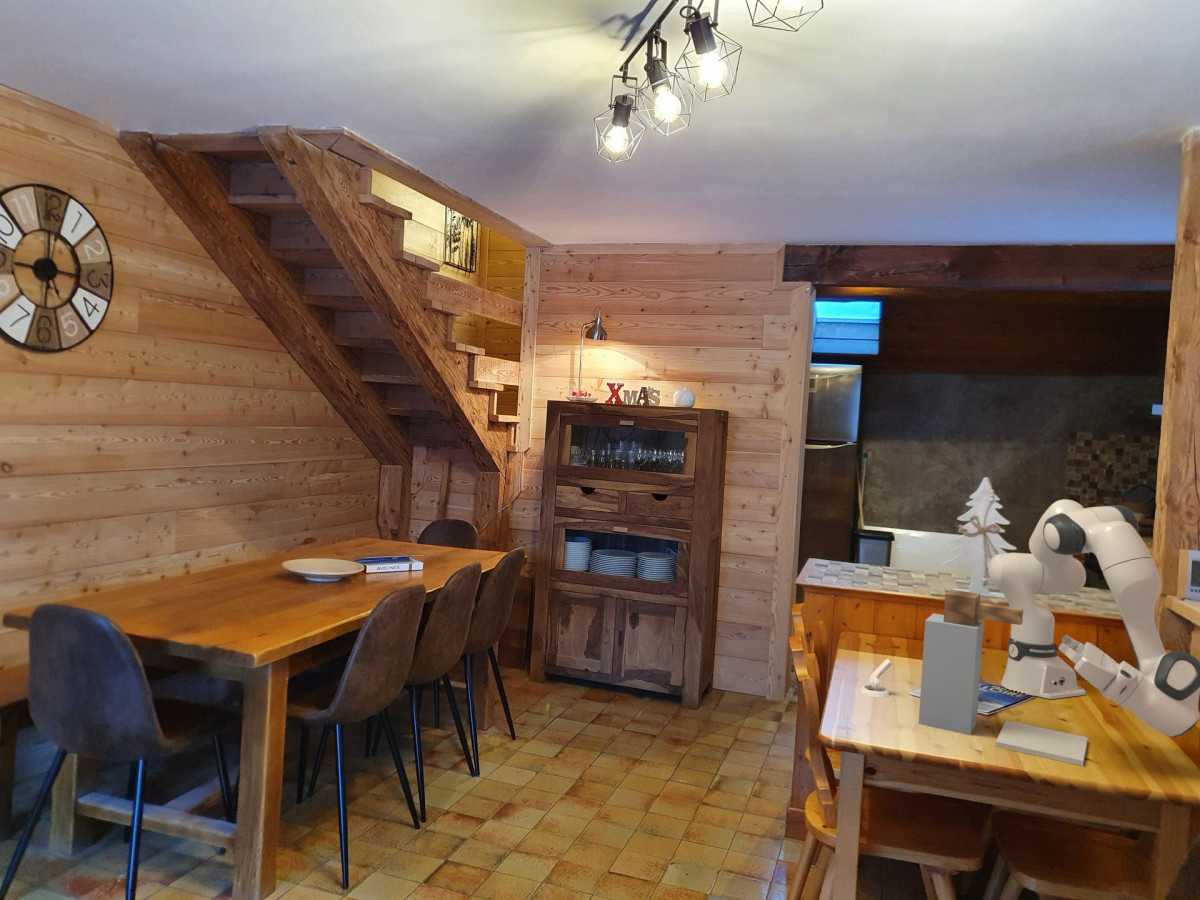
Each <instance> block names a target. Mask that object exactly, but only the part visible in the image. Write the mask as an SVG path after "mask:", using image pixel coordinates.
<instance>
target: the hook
mask: <svg viewBox="0 0 1200 900" xmlns="http://www.w3.org/2000/svg"><path fill="white" fill-rule="evenodd" d="M892 664H893V663H892V662H891V660H890V659H889V658H886V659H885V660H884V661H883V662H882V663H881V664H880V665H879V666H878V667H877V668H876V669H875V671H873V673H872V674H871V675H870V676H869V678H868V679H869V680H868V682H869V683H868V684H864V685H862V686H861V688H860V691H861V693H862V694H861V693H860V694H861V695H863V694H864V695H863V696H865V695H866V696H865V697H868V696H870V697H869V698H873V697H875V698H874V699H886V698H885V697H887V698H889V697H890V693H889V690H888V688H886V687H884V686H882V685H880V684H881V683H880V678H881V677H882V676H883V674H885V673H886V671H888V669H890V667H891V666H892ZM868 689H873V690H868ZM878 690H879V691H878Z"/></svg>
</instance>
